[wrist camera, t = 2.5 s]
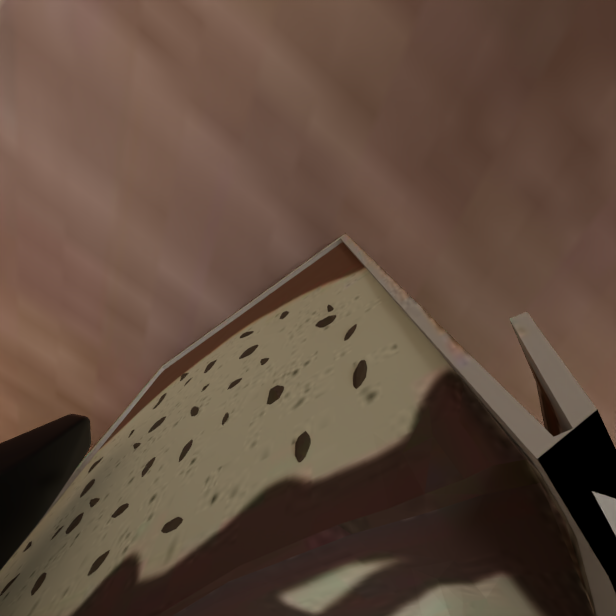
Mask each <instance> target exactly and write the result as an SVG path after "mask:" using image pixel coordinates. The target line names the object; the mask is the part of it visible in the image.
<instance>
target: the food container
mask: <svg viewBox="0 0 616 616" xmlns="http://www.w3.org/2000/svg"><path fill="white" fill-rule="evenodd" d="M510 321H511V324H512V326H513V328H514V331H515V333H516V335H517V338H518V340H519V343H520V345H521V347H522V350H523V352H524V354H525V357H526V359H527V361H528V364H529V366H530V369H531V371H532V373H533V376H534V378H535V380H536V383H537V389H538V394H539V399H540V405H541V410H542V416H543V421H544V426H545V428H544V427H543V426H542V425H541V424H540V423H539V422H538V421H537V420H536V419H535V418H534V417H533V416H532V415H531V414H530V413H529V412H528V411H527V410H526V409H525V408H524V407H523V406H522V405H521V404H520V403H519V402H518V401H517V400H516V399H515V398H514V397H513V396H512V395H510V394H509V393H508V392H507V391H506V390H505V389H504V388H503V387H502V386H501V385H500V384H499V383H498V382H497V381H496V380H495V379H494V378H493V377H492V376H491V375H490V374H489V373H488V372H487V371H486V370H485V369H484V368H483V367H482V366H481V365H480V364H479V363H478V362H477V361H476V360H475V359H474V358H473V357H472V356H471V355H470V354H469V353H468V352H467V351H465V350H464V349H463V348H462V347H461V346H460V345H459V344H458V343H457V342H456V341H455V340H454V339H453V338H452V337H451V336H450V335H449V334H448V333H447V332H446V331H445V330H444V329H443V328H442V327H441V326H440V325H439V324H438V323H437V322H436V321H435V320H434V319H433V318H432V317H431V316H430V315H429V314H428V313H427V312H426V311H425V310H424V309H423V308H422V307H421V306H419V305H418V304H417V303H416V302H415V301H414V300H413V299H412V298H411V297H410V296H409V295H408V294H407V293H406V292H405V291H404V290H403V289H402V288H401V287H400V286H399V285H398V284H397V283H396V282H395V281H394V280H393V279H392V278H391V277H390V276H389V275H388V274H387V273H386V272H385V271H384V270H383V269H382V268H381V267H380V266H379V265H378V264H377V263H376V262H375V261H373V260H372V259H371V258H370V257H369V256H368V255H367V254H366V253H365V252H364V251H363V250H362V249H361V248H360V247H359V246H358V245H357V244H356V243H355V242H354V241H353V240H352V239H351V238H350V237H349V236H348V235H347V234H346V233H345V234H343V235H342V236H341V237H339V238H338V239H337V240H335V241H334V242H332V243H331V244H330V245H328V246H327V247H326V248H324V249H323V250H321V251H320V252H319V253H317V254H316V255H314V256H313V257H312V258H310V259H309V260H308V261H306V262H305V263H303V264H302V265H301V266H299V267H298V268H297V269H295V270H294V271H292V272H291V273H290V274H288V275H287V276H286V277H284V278H283V279H281V280H280V281H279V282H277V283H276V284H275V285H273V286H272V287H270V288H269V289H268V290H266V291H265V292H263V293H262V294H261V295H259V296H258V297H257V298H255V299H254V300H252V301H251V302H250V303H248V304H247V305H246V306H244V307H243V308H241V309H240V310H239V311H237V312H236V313H235V314H233V315H232V316H230V317H229V318H228V319H226V320H225V321H224V322H222V323H221V324H219V325H218V326H217V327H215V328H214V329H212V330H211V331H210V332H208V333H207V334H206V335H204V336H203V337H201V338H200V339H199V340H197V341H196V342H195V343H193V344H192V345H190V346H189V347H188V348H186V349H185V350H184V351H182V352H181V353H179V354H178V355H177V356H175V357H174V358H173V359H171V360H170V361H168V362H167V363H166V364H164V365H163V366H161V368H160V369H159V370H158V371H157V372H156V374H155V375H154V376H153V377H152V378H151V380H150V381H149V382H148V383H147V384H146V386H145V387H144V388H143V389H142V390H141V391H140V393H139V394H138V395H137V396H136V397H135V399H134V400H133V401H132V402H131V403H130V405H129V406H128V407H127V408H126V409H125V411H124V412H123V413H122V414H121V415H120V416H119V418H118V419H117V420H116V421H115V422H114V424H113V425H112V426H111V427H110V428H109V430H108V431H107V432H106V433H105V434H104V436H103V437H102V438H101V439H100V440H99V441H98V443H97V444H96V445H95V446H94V447H93V449H92V450H91V451H90V452H89V453H88V455H87V456H86V457H85V458H84V459H83V460H82V462H81V463H80V464H79V465H78V467H77V468H76V470H75V471H74V473H73V474H72V476H71V477H70V478H69V480H68V481H67V483H66V484H65V486H64V487H63V489H62V490H61V492H60V493H59V495H58V496H57V498H56V499H55V501H54V502H53V504H52V505H51V507H50V508H49V509H48V511H47V512H46V514H45V515H44V516H43V518H42V519H41V520H40V521H39V523H38V524H37V525H36V527H35V528H34V529H33V530H32V532H31V533H30V534H29V535H28V537H27V538H26V539H25V540H24V542H23V543H22V544H21V545H20V547H19V548H18V549H17V550H16V552H15V553H14V554H13V555H12V556H11V558H10V559H9V560H8V561H7V563H6V564H5V565H4V566H3V568H2V569H1V570H0V616H616V449H615V447H614V445H613V442H612V440H611V438H610V436H609V434H608V431H607V429H606V427H605V425H604V423H603V421H602V419H601V417H600V414H599V412H598V410H597V409H596V407H595V406H594V404H593V403H592V402H591V400H590V399H589V397H588V396H587V395H586V393H585V392H584V391H583V389H582V388H581V386H580V385H579V384H578V382H577V381H576V379H575V378H574V377H573V375H572V374H571V372H570V371H569V370H568V368H567V367H566V365H565V364H564V363H563V361H562V360H561V359H560V357H559V356H558V354H557V353H556V352H555V350H554V349H553V347H552V346H551V345H550V343H549V342H548V340H547V339H546V338H545V336H544V335H543V333H542V332H541V331H540V329H539V328H538V327H537V325H536V324H535V322H534V321H533V320H532V318H531V317H530V315H529V314H528V313H527V312H525V313H522V314H520V315H517V316H515V317H512V318H510Z"/></svg>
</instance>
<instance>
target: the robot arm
mask: <svg viewBox="0 0 616 616" xmlns="http://www.w3.org/2000/svg"><path fill="white" fill-rule="evenodd" d="M90 444H91V434H90V420H89V419H88V417H85V416H81V415H76V414H70V415H67V416H64V417H62V418H59V419H57V420H55V421H52V422H50V423H48V424H45V425H43V426H40V427H38V428H36V429H33V430H31V431H29V432H26V433H24V434H22V435H19V436H17V437H14V438H12V439H10V440H7V441H5V442H3V443H0V570H1V569H2V568H3V566H4V565H5V564H6V563H7V561H8V560H9V559H10V558H11V556H12V555H13V554H14V553H15V552H16V550H17V549H18V548H19V547H20V545H21V544H22V543H23V542H24V540H25V539H26V538H27V537H28V535H29V534H30V533H31V532H32V530H33V529H34V528H35V527H36V525H37V524H38V523H39V521H40V520H41V519H42V518H43V516H44V515H45V514H46V512H47V511H48V509H49V508H50V507H51V505H52V504H53V502H54V501H55V499H56V498H57V496H58V495H59V493H60V492H61V490H62V489H63V487H64V486H65V484H66V483H67V481H68V480H69V478H70V477H71V476H72V474H73V473H74V471H75V470H76V468H77V467H78V465H79V464H80V462H81V461H82V459H83V458H84V456H85V455H86V453H87V452H88V450H89V447H90Z"/></svg>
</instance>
